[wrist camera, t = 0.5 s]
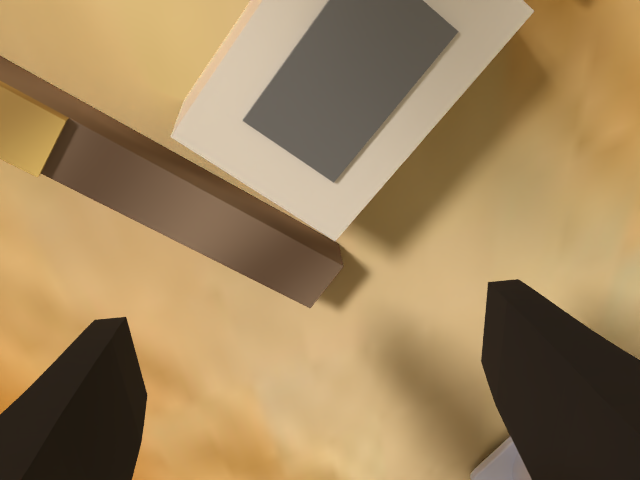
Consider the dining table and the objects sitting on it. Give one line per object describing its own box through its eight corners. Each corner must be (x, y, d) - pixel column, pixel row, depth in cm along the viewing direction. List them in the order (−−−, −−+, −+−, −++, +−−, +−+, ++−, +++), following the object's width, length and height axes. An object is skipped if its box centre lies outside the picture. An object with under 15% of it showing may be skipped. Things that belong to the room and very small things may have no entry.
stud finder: (489, -10, 18) (536, 11, 15) (324, 190, 21) (335, 243, 18) (345, -143, 16) (365, -151, 13) (184, 97, 19) (169, 139, 16)
